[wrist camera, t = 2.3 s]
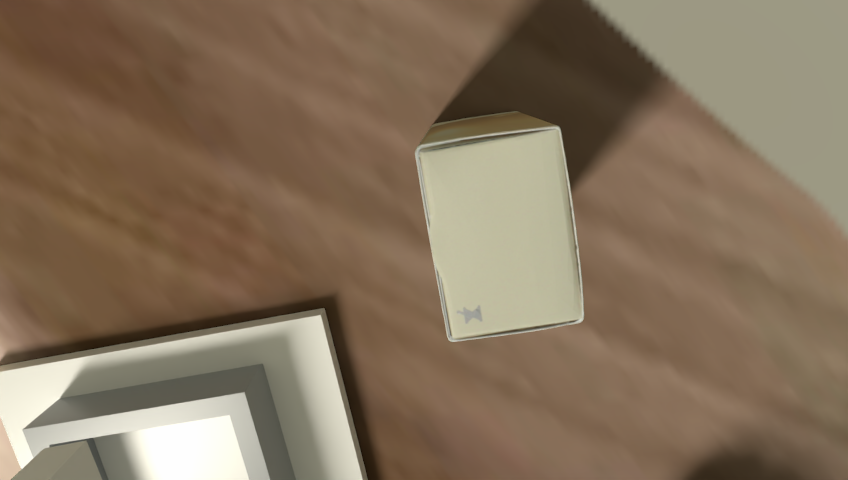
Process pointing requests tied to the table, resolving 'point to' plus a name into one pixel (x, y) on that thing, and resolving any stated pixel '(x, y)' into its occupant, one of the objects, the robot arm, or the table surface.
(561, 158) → the skincare box
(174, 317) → the table surface
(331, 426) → the socket board
